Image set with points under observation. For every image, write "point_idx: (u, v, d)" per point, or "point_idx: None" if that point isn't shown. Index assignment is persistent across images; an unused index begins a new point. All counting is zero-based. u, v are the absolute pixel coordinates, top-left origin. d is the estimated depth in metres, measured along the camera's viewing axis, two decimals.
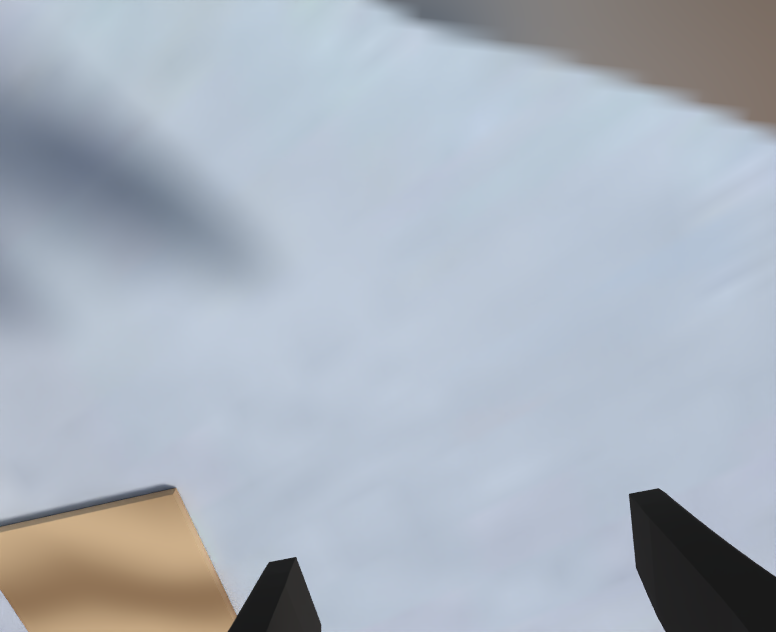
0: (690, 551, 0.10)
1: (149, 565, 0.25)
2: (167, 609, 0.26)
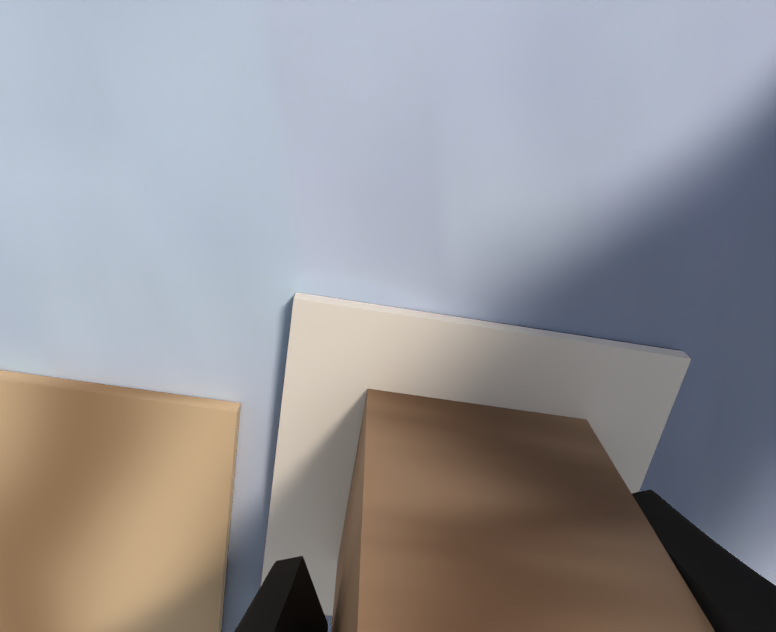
0: (681, 553, 0.10)
1: None
2: (93, 483, 0.14)
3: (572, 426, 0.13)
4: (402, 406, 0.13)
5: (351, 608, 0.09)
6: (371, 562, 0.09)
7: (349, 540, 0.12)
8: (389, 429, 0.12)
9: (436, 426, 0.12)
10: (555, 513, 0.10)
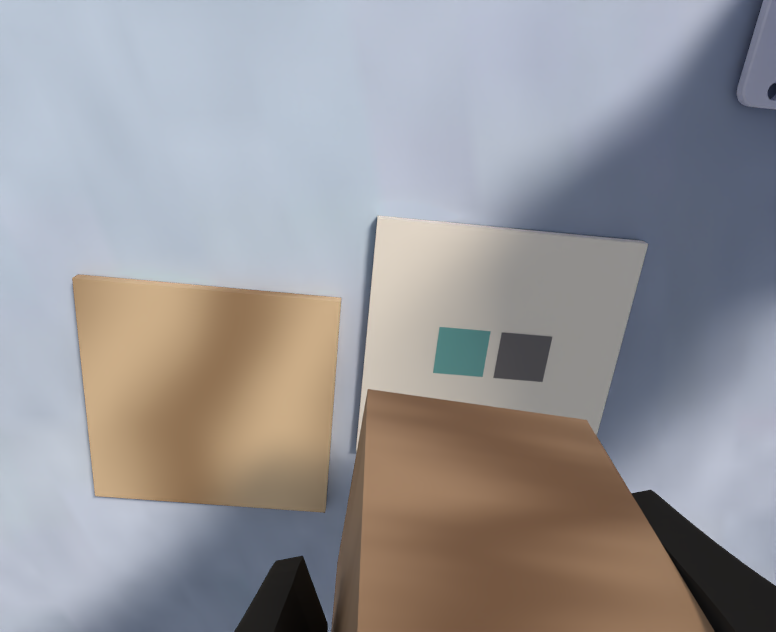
0: (680, 553, 0.10)
1: (171, 349, 0.21)
2: (243, 360, 0.21)
3: (571, 426, 0.13)
4: (402, 406, 0.13)
5: (351, 608, 0.09)
6: (372, 564, 0.09)
7: (349, 540, 0.12)
8: (389, 430, 0.12)
9: (436, 427, 0.12)
10: (554, 513, 0.10)
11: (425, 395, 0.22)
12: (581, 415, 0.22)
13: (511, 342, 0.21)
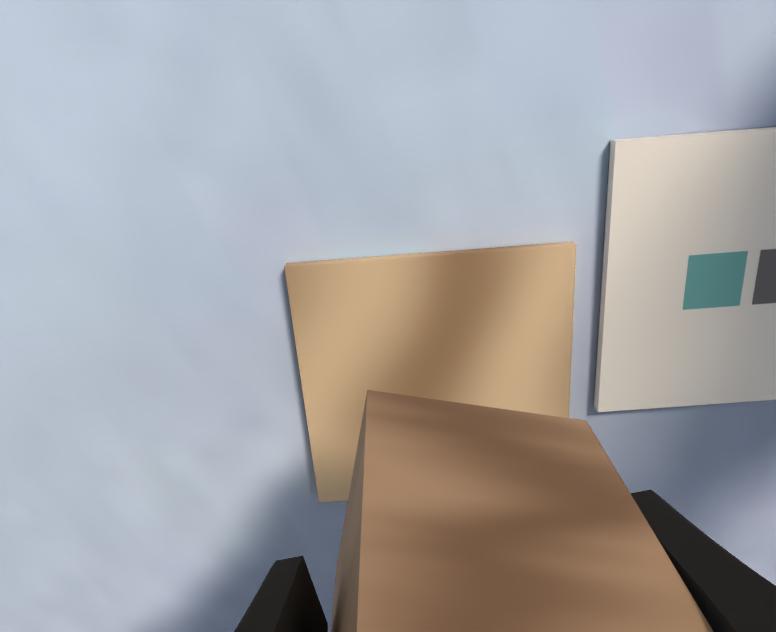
0: (680, 553, 0.10)
1: (392, 328, 0.19)
2: (471, 329, 0.19)
3: (571, 427, 0.13)
4: (402, 407, 0.13)
5: (350, 610, 0.09)
6: (371, 565, 0.09)
7: (349, 541, 0.12)
8: (389, 431, 0.12)
9: (436, 428, 0.12)
10: (554, 514, 0.10)
11: (674, 336, 0.19)
12: None
13: (771, 260, 0.18)
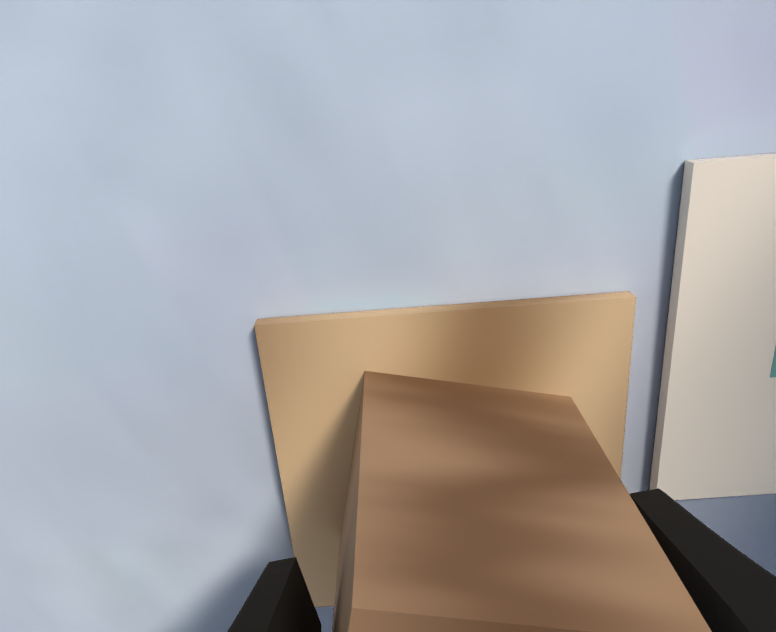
0: (690, 551, 0.10)
1: None
2: None
3: (556, 403, 0.14)
4: (397, 386, 0.14)
5: (350, 561, 0.10)
6: (367, 518, 0.10)
7: (349, 509, 0.13)
8: (385, 406, 0.13)
9: (428, 404, 0.13)
10: (536, 477, 0.11)
11: (758, 411, 0.15)
12: None
13: None
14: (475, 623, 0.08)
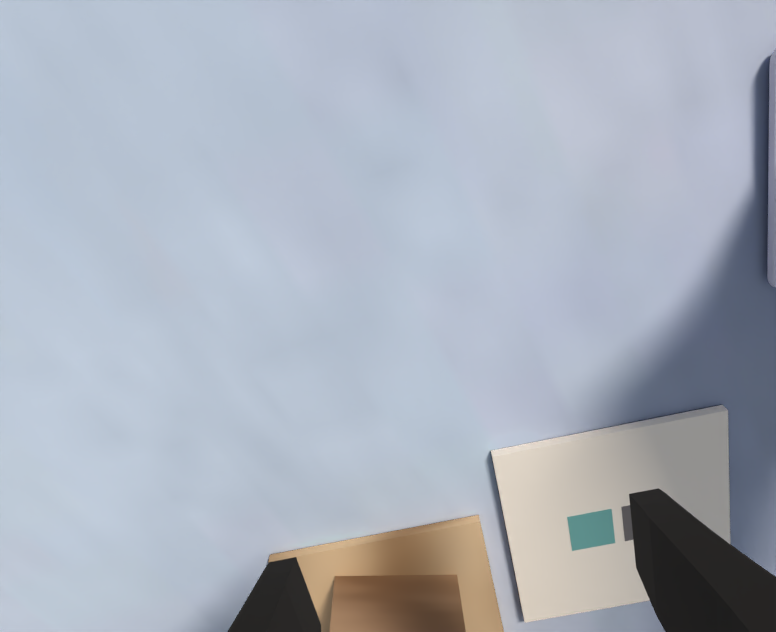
0: (690, 551, 0.10)
1: None
2: None
3: (446, 582, 0.25)
4: (352, 586, 0.25)
5: None
6: None
7: None
8: (344, 607, 0.24)
9: (369, 599, 0.24)
10: None
11: (570, 568, 0.25)
12: None
13: None
14: None
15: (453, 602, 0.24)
